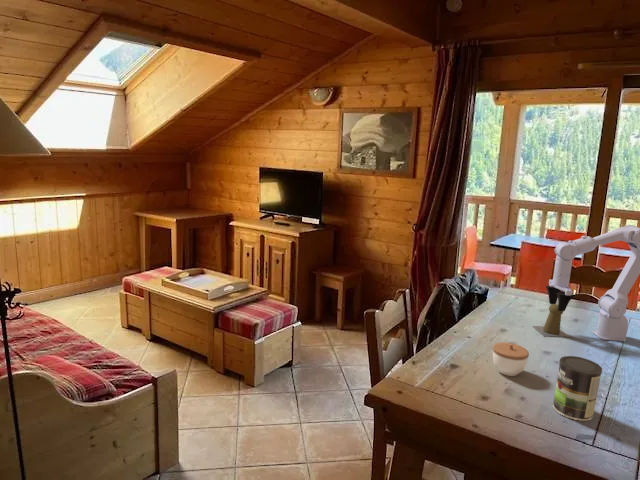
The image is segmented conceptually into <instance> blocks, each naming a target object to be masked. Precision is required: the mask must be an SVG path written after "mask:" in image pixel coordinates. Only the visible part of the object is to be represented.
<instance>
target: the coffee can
mask: <svg viewBox="0 0 640 480" xmlns="http://www.w3.org/2000/svg"><path fill="white" fill-rule="evenodd" d="M602 373H603V368H602V366H601V365H599V363H597V362H595V361H593V360H590V359H587V358H584V357H581V356H575V355H567V356H566V355H564V356H562V357H560V358H559V366H558V371H557V377H556V385H555V390H554V395H553V401H552V409H553V410H554V411H555V412H556V413H558V414H559V415H560V414H561V415H560V416H562V415H563V416H562V417H564V416H565V418H566V417H567V419H569V418H570V419H569V420H572V419H574V420H573V421H576V420H579V421H578V422H589V421H592V420H593V419H594V414H595V407H596V402H597V397H598V391H599V387H600V381H601V375H602ZM588 420H589V421H588Z"/></svg>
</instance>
